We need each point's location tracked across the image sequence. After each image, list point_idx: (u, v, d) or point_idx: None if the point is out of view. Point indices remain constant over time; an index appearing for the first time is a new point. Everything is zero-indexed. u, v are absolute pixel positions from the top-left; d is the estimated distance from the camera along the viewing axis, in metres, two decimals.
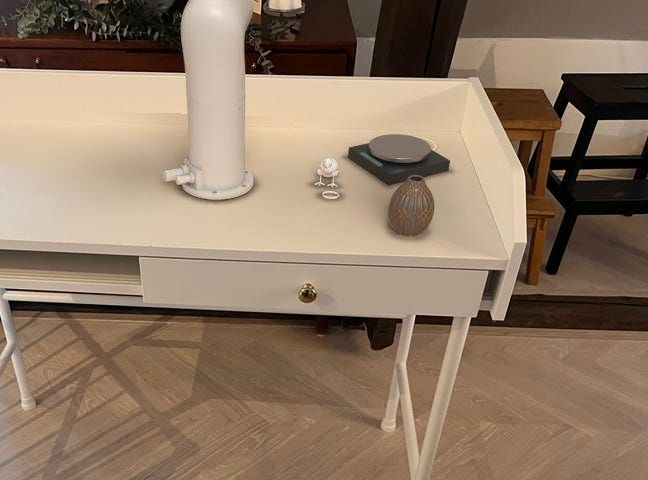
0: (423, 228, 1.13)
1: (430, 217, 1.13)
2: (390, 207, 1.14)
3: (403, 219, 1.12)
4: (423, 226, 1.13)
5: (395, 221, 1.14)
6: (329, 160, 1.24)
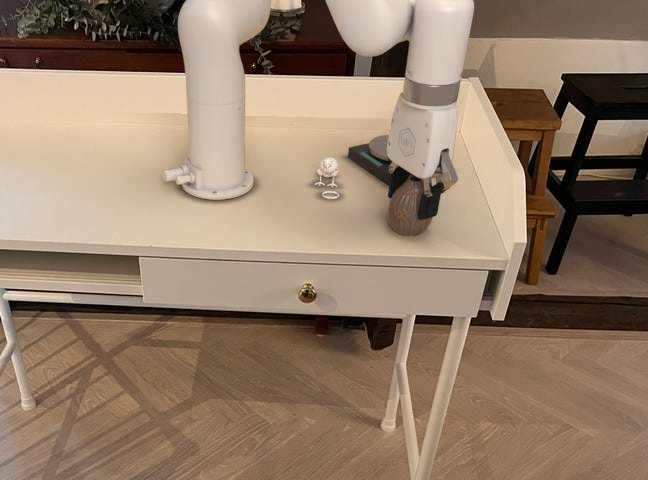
0: (423, 228, 1.13)
1: None
2: (390, 207, 1.14)
3: (403, 219, 1.12)
4: (423, 226, 1.13)
5: (395, 221, 1.14)
6: (329, 161, 1.24)
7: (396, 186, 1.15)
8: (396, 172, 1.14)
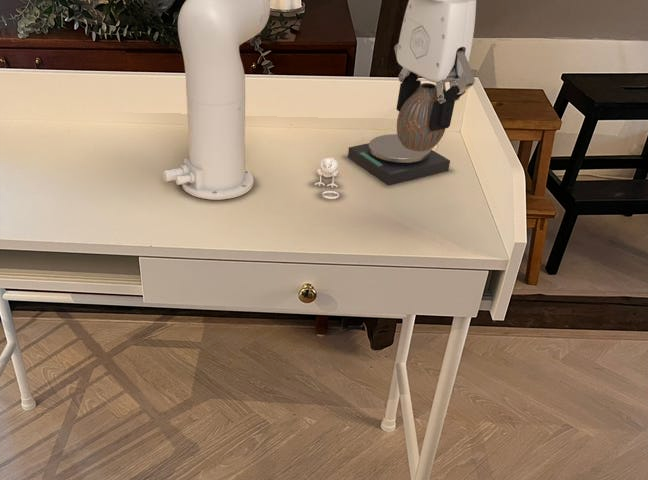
0: (434, 142, 1.05)
1: (442, 130, 1.04)
2: (399, 119, 1.05)
3: (413, 130, 1.04)
4: (434, 139, 1.05)
5: (404, 134, 1.05)
6: (329, 161, 1.24)
7: (406, 97, 1.07)
8: (406, 81, 1.06)
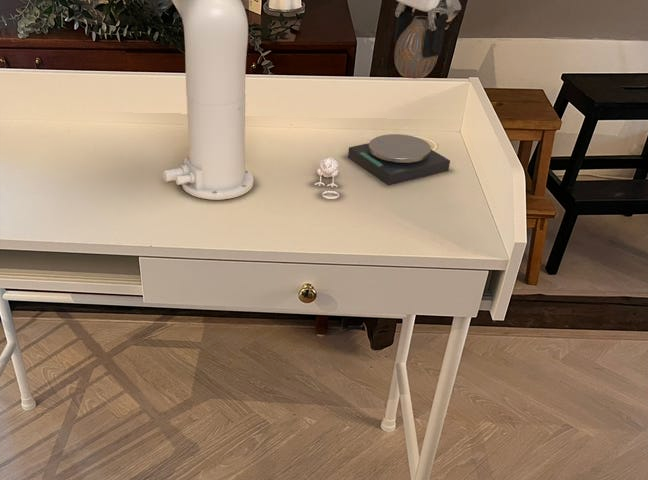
0: (428, 69, 1.18)
1: (435, 57, 1.18)
2: (396, 48, 1.19)
3: (409, 58, 1.17)
4: (428, 66, 1.18)
5: (401, 62, 1.19)
6: (329, 160, 1.24)
7: (402, 30, 1.20)
8: (402, 15, 1.19)
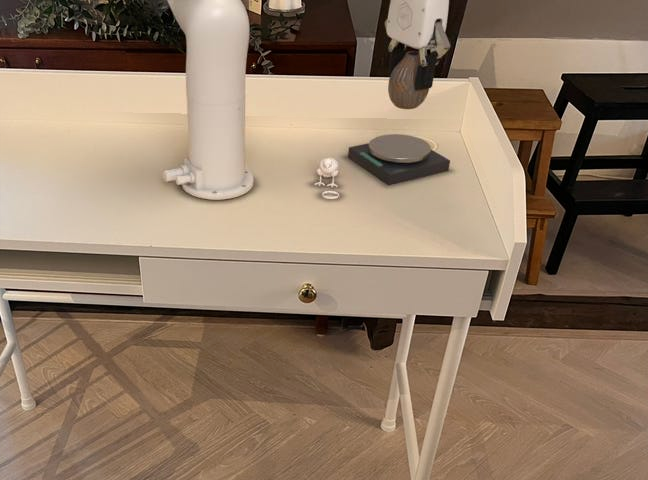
0: (420, 100, 1.26)
1: (426, 90, 1.25)
2: (390, 82, 1.26)
3: (402, 91, 1.25)
4: (420, 98, 1.25)
5: (394, 95, 1.26)
6: (329, 160, 1.24)
7: (395, 64, 1.27)
8: (395, 50, 1.26)
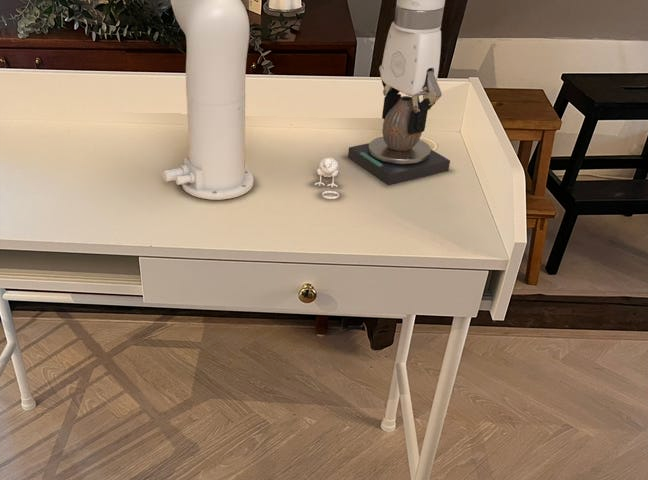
0: (413, 143, 1.31)
1: (419, 133, 1.30)
2: (384, 125, 1.31)
3: (395, 134, 1.29)
4: (413, 141, 1.30)
5: (388, 137, 1.31)
6: (329, 160, 1.24)
7: (389, 108, 1.32)
8: (389, 95, 1.31)
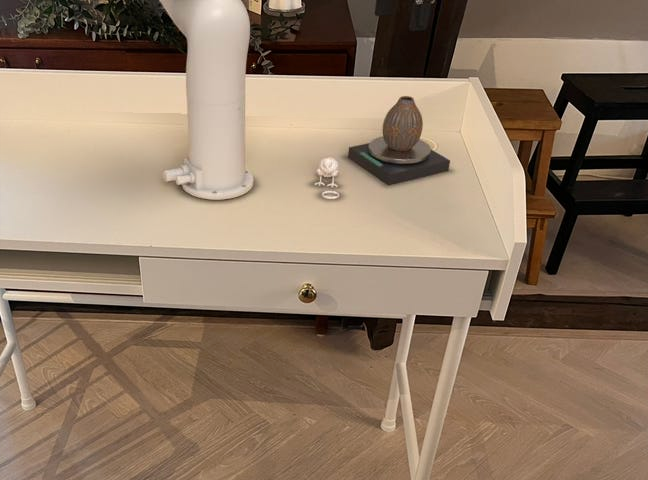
0: (413, 143, 1.31)
1: (419, 133, 1.30)
2: (384, 125, 1.31)
3: (395, 134, 1.29)
4: (413, 140, 1.30)
5: (388, 137, 1.31)
6: (329, 160, 1.24)
7: (382, 2, 1.23)
8: None
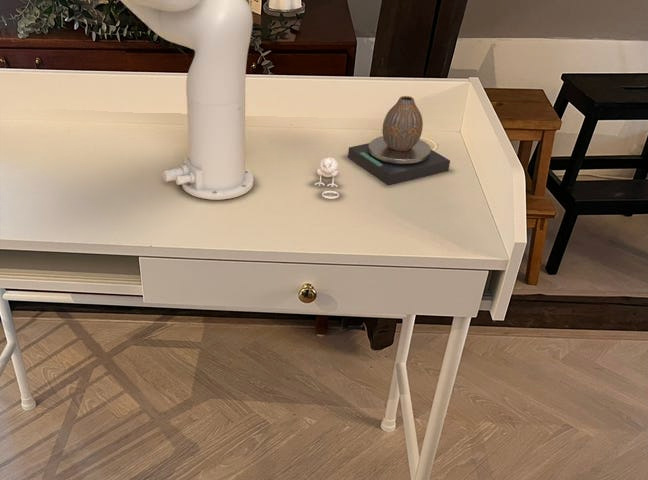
0: (413, 143, 1.31)
1: (419, 133, 1.30)
2: (384, 125, 1.31)
3: (395, 134, 1.29)
4: (413, 140, 1.30)
5: (388, 137, 1.31)
6: (329, 160, 1.24)
7: None
8: None
